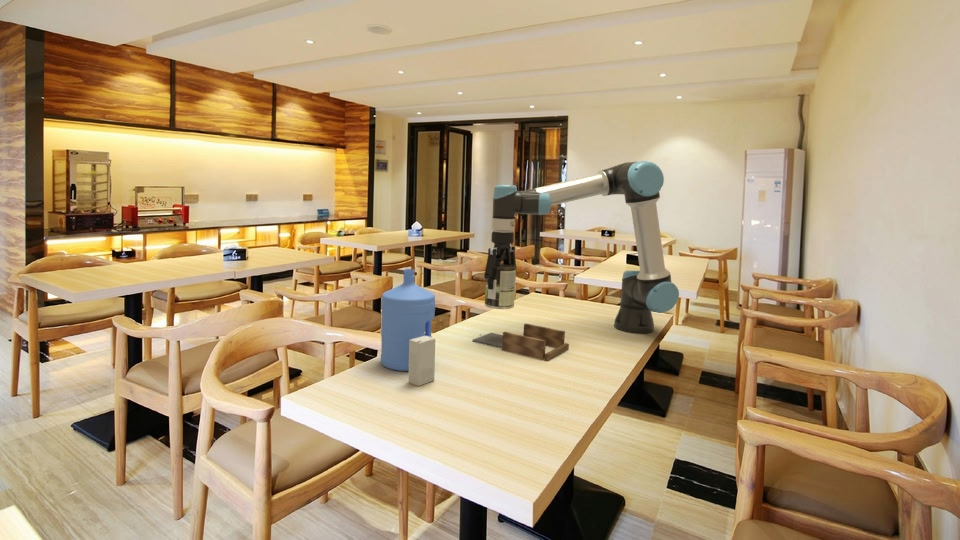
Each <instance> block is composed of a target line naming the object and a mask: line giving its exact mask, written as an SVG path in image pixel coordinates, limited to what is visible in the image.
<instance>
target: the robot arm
mask: <svg viewBox="0 0 960 540" xmlns="http://www.w3.org/2000/svg"><path fill="white" fill-rule="evenodd" d="M664 178H665V177H664V172H663V171H662V169H661V167H659V165H657V164H656V163H654V162H652V161H647V160H639V161H631V162H629V161H628V162H623V163H621V164H618V165H614V166H611V167H609V168H605V169H600V170H598V171H597V172H596V174H591V175H587V176H582V177H578V178H574V179H573V178H572V179H570V180H569V179H568V180H565V181H562V182H557V183H552V184H547V185H544V186H540V187H535V188H530V189H525V190H518V189H517V186H516V185H514V184H496V185H494V189H493V196H492V218H491V221H492V222H491V230H492V232H491V243H493V245H494V246H493V248H490V247H489V248H488V250H487V251H488V252H487V253H488V255H487V258H486V259H487V260H486V265H485V269H484V275H483V277H484V278H483V279H485V280H486V279H488V298H489V299H496V280H495V277H496V274H497V268H494V267H499V265H500V263H504V264H506V265H511V264H513V265H516V266H517V263H516V262H517V259H516V246H514V245H511V244H514V242H515V240H514V239H515V233H514V232H513V231H515V225H516V222H515V220H516V218H515V217H516V215H535V216H536V215H538V216H543V215H544V216H545V215H548V214H549V213H550V212H551V209H552V206H556V205H560V204H565V203H569V202H574V201H578V200H582V199H587V198H590V197H595V196H599V195H600V196H601V195H602V197H606V196H612V195H613V196H614V195H623V196H624V200H625V204H626V205H627V206H629V207H630V211H631V218H632V224H633V230H634V237H635V238H634V239H635V245H636V251H637V258H638V264H639V265H638V266H639V270H625V271H624V272H623V274H622V279H621V291H620V292H621V293H620V304H619V305H620V306H619V310H618V312H617V314H616V317H615V319H614V323H613V326H614V329H616V330H620V331H623V332H628V333H634V334H635V333H636V334H648V333H653V332H654V331H655V323H654V318H653V313H652V312H656V313H667V312H669V311H671V310H673V308H674V307H675V306H676V304H677V303H678V301H679V298H680V297H679V296H680V291H679V288H678V287H677V285H676V284H675V283H674V282H672V276H671V271H669V270H668V269H667V268H666V266H665V260H664V251H663V245H662V243H663V242H662V236H661V228H660V222H659V215H658V207H657V203H658V201H659V199H660V198H661V194H660V191H661V190H662V189H661V188H662V187H663V186H664V183H665V179H664ZM516 273H517V269H516Z"/></svg>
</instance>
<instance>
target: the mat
mask: <svg viewBox="0 0 960 540" xmlns="http://www.w3.org/2000/svg"><path fill="white" fill-rule="evenodd" d="M502 339H503V334H500V333H495V332H490V333H487V334H484V335H481V336H478V337H476V338H473V339H472V342H474V343H477V344H481V345H482V344H483V345H485V344H486V346H489V347H490V346H491V347H495V348H498V347H499V348H498V349H502Z"/></svg>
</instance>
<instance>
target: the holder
mask: <svg viewBox="0 0 960 540" xmlns="http://www.w3.org/2000/svg"><path fill="white" fill-rule="evenodd" d="M502 335H503V339H502V348H501V350H502V351H503V350H504V351H505V352H507V351H508V352H507V353H512V354H517V355H522V356H525V357H529V358H534V359H538V360H542V361H546V362H549V361H550V360H552V359H555V358H556V357H557V356H560V355H562V354H563V353H565V352H566V351H568V350H569V347H570V343H568V342H567V343H566V342H565V339H566V338H565V336H566V331H565V330H560V329H557V328H556V329H555V328H550V327H545V326H540V325H535V324H532V323H531V324H530V323H524V324H523V335H522V334H516V333H512V332H507V331H503V332H502ZM546 347H549V348H554V349H551V350H550V351H548V352H546Z"/></svg>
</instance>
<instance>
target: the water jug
mask: <svg viewBox="0 0 960 540" xmlns="http://www.w3.org/2000/svg"><path fill="white" fill-rule="evenodd" d="M380 308H381V328H380V336H381V337H380V338H381V340H380V341H381V345H380V346H381V347H380V348H381V349H380V350H381V354H380V363H381V364H382V366H384V367H385V368H386V369H390V370H394V371H398V372H409V340H411V339H414V338H418V337H422V336H429V337H432V338H433V336H432V320H433V319H434V318H435V314H436V313H435V311H436V295H435V293H434V292H432V291H429V290H427V289H425V288H423V287H422V286H419V285H417V284H416V283H415V269H411V268H408V269H407V268H405V269H403V282H402V284H400V285H398V286H395V287H393V288H391V289H389V290H387V291H385V292H383V293H382V295H381V305H380Z"/></svg>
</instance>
